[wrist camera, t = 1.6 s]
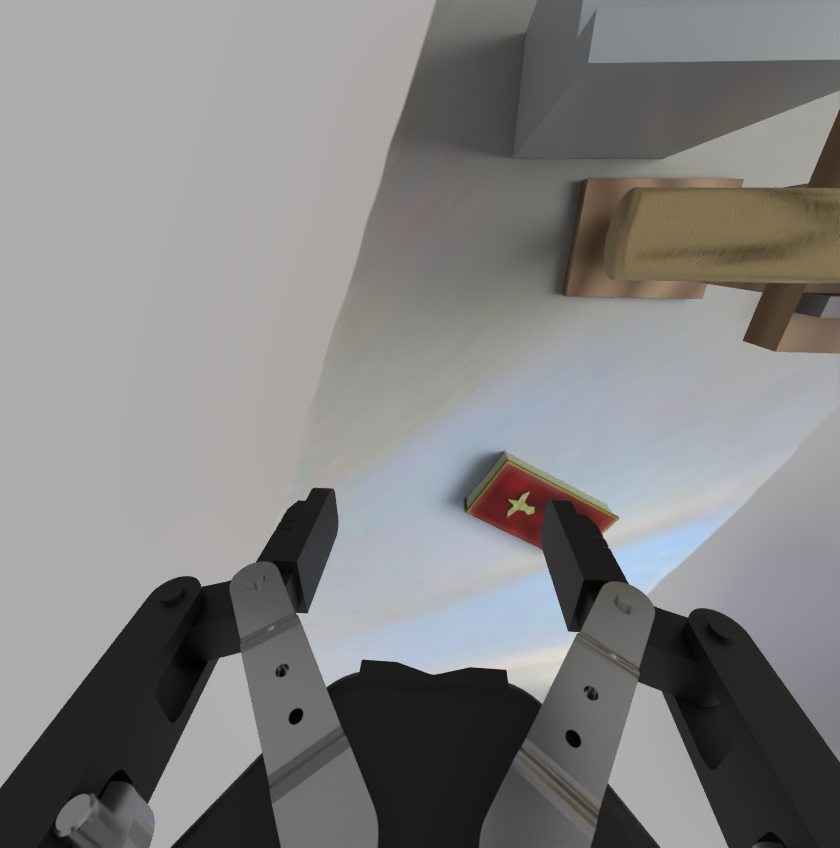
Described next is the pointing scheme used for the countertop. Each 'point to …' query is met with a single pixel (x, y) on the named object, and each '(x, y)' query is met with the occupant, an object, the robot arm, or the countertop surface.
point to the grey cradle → (667, 72)
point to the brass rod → (725, 235)
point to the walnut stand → (776, 311)
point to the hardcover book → (527, 499)
